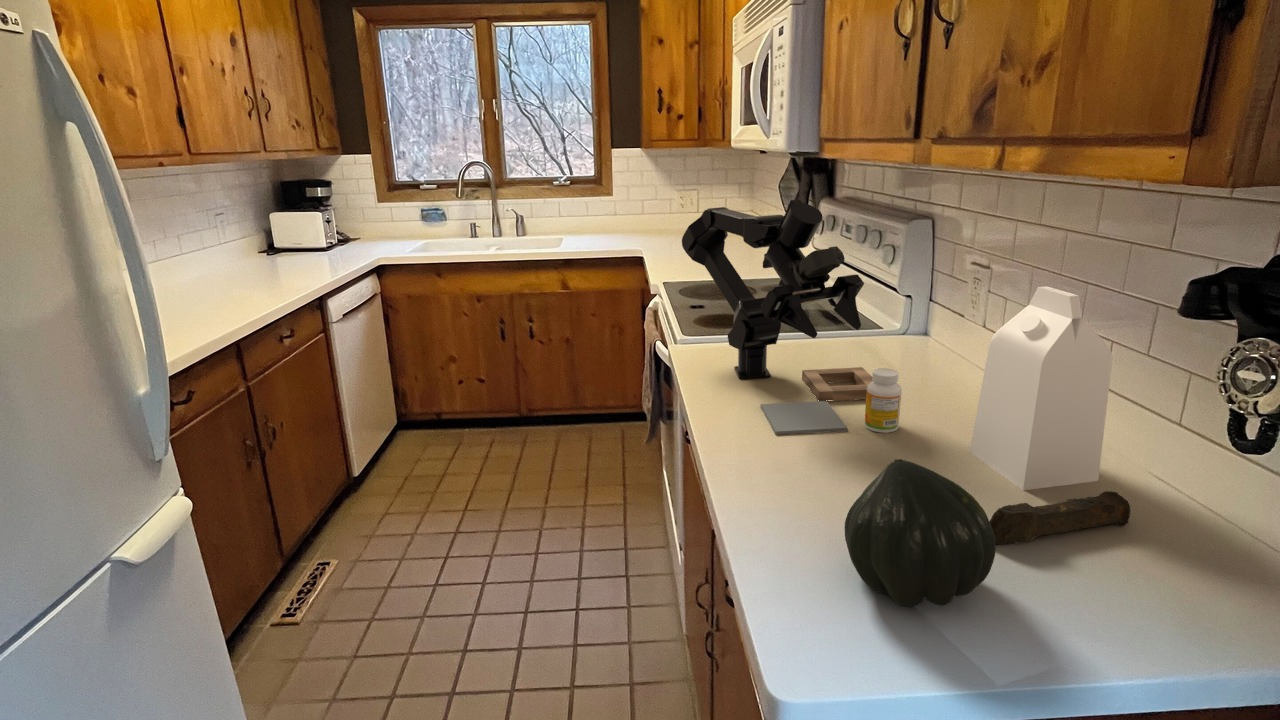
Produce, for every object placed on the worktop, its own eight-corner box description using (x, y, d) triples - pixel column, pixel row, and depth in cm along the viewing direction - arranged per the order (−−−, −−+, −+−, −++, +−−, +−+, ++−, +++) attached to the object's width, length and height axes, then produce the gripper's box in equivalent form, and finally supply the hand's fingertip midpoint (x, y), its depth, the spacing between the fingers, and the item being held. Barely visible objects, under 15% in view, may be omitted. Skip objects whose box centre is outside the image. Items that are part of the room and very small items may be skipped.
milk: (1098, 480, 96) (1133, 297, 88) (1022, 490, 95) (1051, 304, 86) (1037, 444, 108) (1063, 279, 99) (969, 452, 106) (989, 285, 98)
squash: (1039, 592, 66) (990, 441, 72) (886, 610, 65) (849, 456, 71) (972, 603, 79) (935, 474, 85) (843, 618, 78) (815, 487, 84)
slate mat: (760, 407, 126) (760, 404, 126) (826, 403, 126) (826, 400, 126) (775, 434, 114) (775, 431, 114) (847, 431, 115) (847, 427, 115)
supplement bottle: (870, 418, 119) (874, 364, 116) (902, 424, 116) (907, 369, 113) (859, 429, 115) (863, 374, 112) (892, 436, 112) (897, 379, 109)
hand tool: (1102, 513, 89) (1108, 480, 88) (1129, 529, 85) (1136, 496, 84) (969, 534, 86) (973, 500, 84) (991, 552, 82) (996, 517, 81)
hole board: (801, 379, 138) (802, 370, 138) (861, 376, 139) (862, 367, 138) (819, 402, 127) (819, 391, 126) (883, 398, 127) (884, 388, 127)
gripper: (764, 238, 115) (811, 307, 107) (853, 228, 122) (903, 291, 114) (743, 285, 123) (785, 352, 115) (827, 273, 131) (872, 335, 122)
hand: (837, 332), depth 116 cm, fingers open, 9 cm apart
